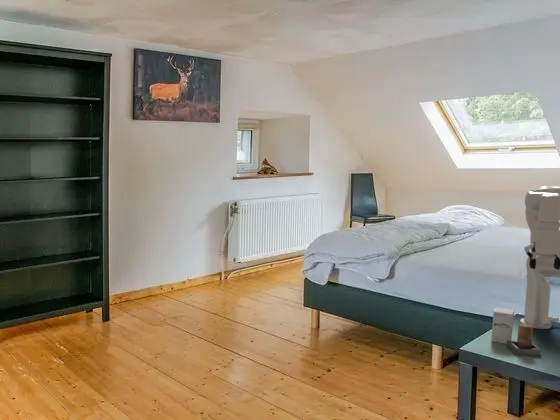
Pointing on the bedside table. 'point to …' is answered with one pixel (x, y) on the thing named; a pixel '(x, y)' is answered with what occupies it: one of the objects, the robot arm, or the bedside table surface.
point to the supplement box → (502, 325)
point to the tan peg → (524, 336)
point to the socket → (524, 349)
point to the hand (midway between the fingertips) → (544, 268)
